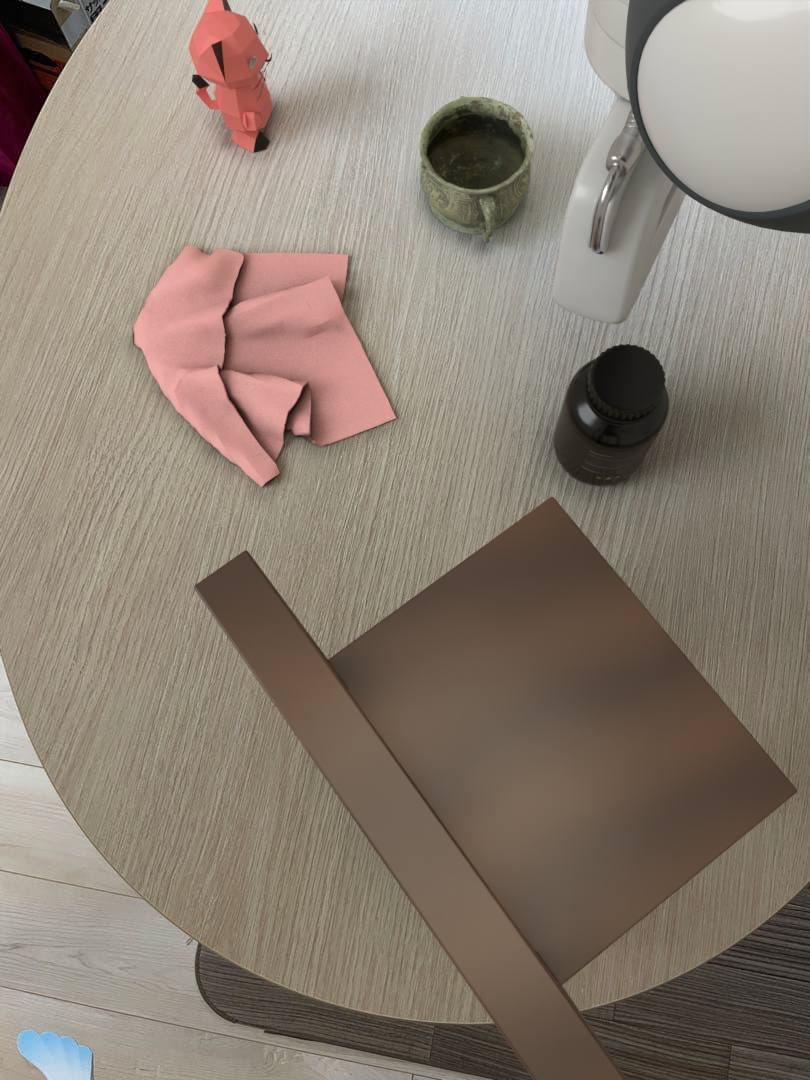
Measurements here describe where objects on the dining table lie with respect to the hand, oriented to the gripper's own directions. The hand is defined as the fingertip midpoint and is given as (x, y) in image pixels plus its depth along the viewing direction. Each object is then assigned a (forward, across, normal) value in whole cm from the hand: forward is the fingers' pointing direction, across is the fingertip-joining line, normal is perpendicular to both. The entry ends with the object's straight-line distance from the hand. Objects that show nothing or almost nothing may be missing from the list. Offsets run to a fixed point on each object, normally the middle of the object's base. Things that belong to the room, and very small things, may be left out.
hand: (642, 239), depth 51 cm
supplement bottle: (+22, -1, 0) cm, 22 cm away
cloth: (+20, -5, +26) cm, 33 cm away
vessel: (+18, +15, +17) cm, 29 cm away
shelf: (+24, -25, -3) cm, 35 cm away
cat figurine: (+16, +14, +37) cm, 43 cm away
